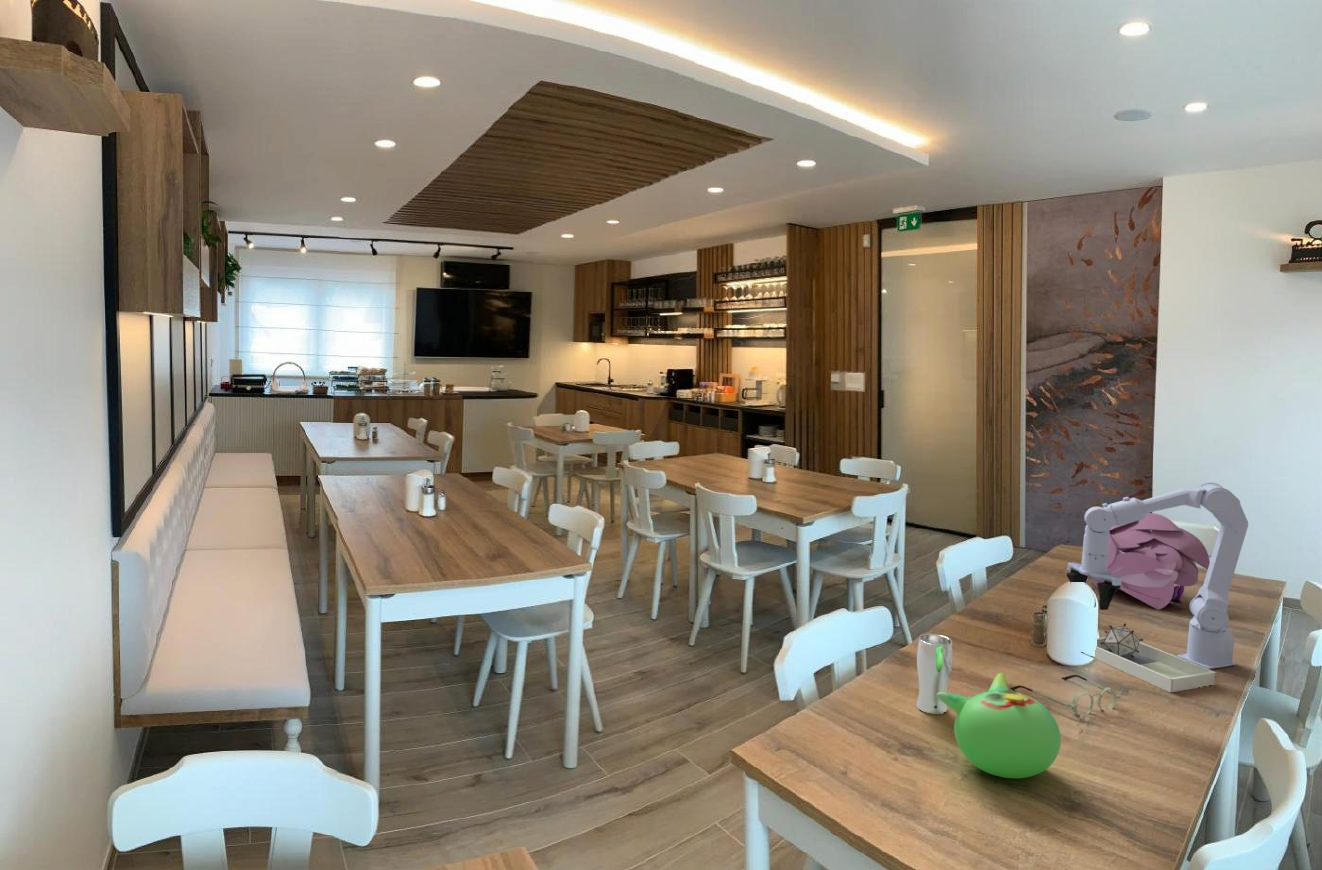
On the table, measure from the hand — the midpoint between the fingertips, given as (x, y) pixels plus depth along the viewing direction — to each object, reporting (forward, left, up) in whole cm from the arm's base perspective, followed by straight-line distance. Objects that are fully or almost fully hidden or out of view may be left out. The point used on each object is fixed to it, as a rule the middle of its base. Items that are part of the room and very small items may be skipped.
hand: (1090, 604), depth 193 cm
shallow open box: (0, +16, -11) cm, 19 cm away
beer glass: (+64, +19, -11) cm, 68 cm away
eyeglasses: (+32, +23, -11) cm, 41 cm away
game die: (0, +9, -11) cm, 14 cm away
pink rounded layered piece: (-50, -27, -11) cm, 58 cm away
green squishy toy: (+67, +42, -11) cm, 80 cm away
